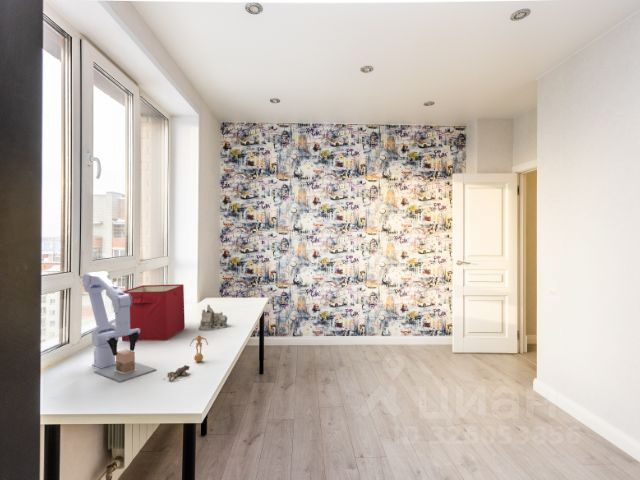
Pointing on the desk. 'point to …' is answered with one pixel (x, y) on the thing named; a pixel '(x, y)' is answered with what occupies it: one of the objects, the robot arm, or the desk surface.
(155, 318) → the storage cube
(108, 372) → the board
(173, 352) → the desk surface
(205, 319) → the stone castle ruin
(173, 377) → the frog figurine
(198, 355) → the figurine
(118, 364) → the walnut block
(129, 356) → the terracotta block
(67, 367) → the desk surface
